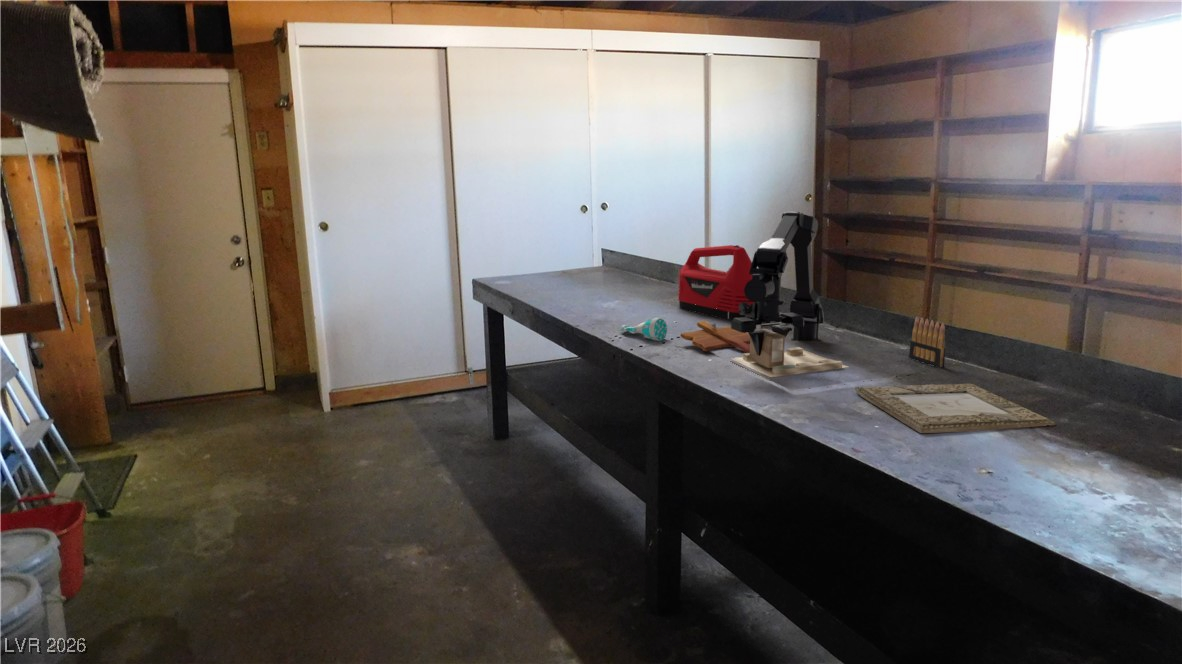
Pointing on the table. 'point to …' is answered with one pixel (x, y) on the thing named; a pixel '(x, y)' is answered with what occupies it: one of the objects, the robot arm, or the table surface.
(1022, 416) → the picture frame
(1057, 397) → the table surface
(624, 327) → the garden hose nozzle
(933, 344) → the ammunition clip
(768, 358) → the brown wooden box
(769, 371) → the birch notch board
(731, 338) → the sign
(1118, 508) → the table surface
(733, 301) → the power tool
